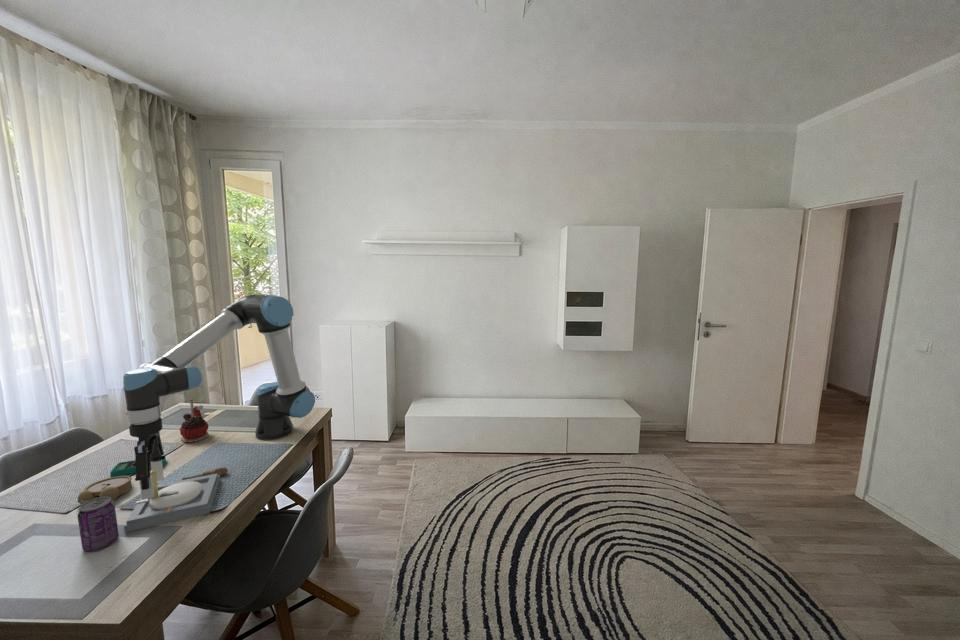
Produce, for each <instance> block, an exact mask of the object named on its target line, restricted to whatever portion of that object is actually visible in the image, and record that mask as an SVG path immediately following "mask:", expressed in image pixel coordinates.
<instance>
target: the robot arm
mask: <svg viewBox="0 0 960 640" xmlns="http://www.w3.org/2000/svg"><path fill="white" fill-rule="evenodd" d="M293 317H294V308H293V306H292V304H291V301H289V300H288V299H286V298H285V297H283V296H281V295H280V296H278V295H275V294H273V295H270V294H269V295H268V294H248V295H246V296H243V297H241V298H239V299H238V300H236V301H234V302H233V303H231V304H229V305H228V306H227V307H225V308H224V309H222V310H221V311H220V314H219V315H218V316H216V318H214V319H213V320H211V321H210V322H209V323H207V324H206V325H204V326H203V327H201V328H200V329H198V330H197V331H195V332H194V333H192V335H190V336H189V337H187V338H186V339H184V340H183V341H182V342H180V343H179V344H177V345H175V346H174V347H173V348H171V349H170V350H168V351H167V352H166V353H164V354H163V355H162V356H159V358H157V359H156V360H154V361H152V362H145V363H143V364H142V363H141V364H140V365H138V367H137V368H136V369H132V370H129V371H127V372H125V373H124V374H123V383H122V384H123V386H122V387H123V390H124V396H125V403H126V411H125V412H124V414H125V415H127V420H128V423H129V424H128V430H129V431H128V432H129V435H130V437H133V438H138V440H137V442H136V446H134V449H133V450H134V456H135V458H134V460H135V463H136V473H135V478H134V481H136V482H139V486H140V488H139V489H140V495H141V497H142V499H147V498H151V497H154V490H153V481H152V476H150V470H151V471H152V470H156V478H157V482H160V481H164V480H165V477H164V476H165V475H164V468H163V467H164V466H163V465H162V460H161V459H165V457H166V455H164V454H165V453H164V448H163V444H162V440H161V435H160V434H161V433H160V432H161V431H162V430H163V420H162V418H161V417H162V410H161V403H160V401H161V400H160V399H161V397H166V396H169V395H173V394H177V393H180V392H184V391H190V390H192V389H195V388H198V387H199V386H200V385H201V384H202V382H203V375H202V371H201V370H200V369H199V368H198V367H197V366H196V365H190V364H192V363H193V362H194V361H196V360H197V359H198V358H200V357H201V356H202V355H204V354H205V353H207V351H210V349H212V348H213V347H214V346H215V345H217V344H218V343H219V342H221V341H222V340H224V339H225V338H226V337H228V336H229V335H230V334H232V333H233V332H234V331H235V330H241V329H243V328H245V326H247V325H251V324H256V328H257V331H258V333H259V334H262V335H263V336H264V339H265V342H266V346H267V349H268V353H269V356H270V357H269V358H270V361H271V364H272V368H273V370H274V375H275V377H276V381H274V382H268V383H265V384H261V385H259V386H258V387H257V389H256V390H257V391H256V399H257V400H256V402H257V413H258V421H257V425H256V428H255V431H254V434H255V438H256V439H257V440H261V441H272V440H277V439H282V438H285V437H288V436H289V435H291V434H292V433H293V432H292V431H294V424H293V422H292V420H291V419H292V418H294V419H295V418H297V419H301V418H304V417H306V416H308V415H309V414H310V413H311V411H312V410H313V409H314V407H315V403H316V396H315V394H314V393H313V392H312V391H310V390H308V388H307V384H306V382H305V381H304V380H301V376H300V373H299V368H298V364H297V362H296V357H295V354H294V350H293V347H292V342H291V338H290V335H289V328H290V327H291V322H292V320H293ZM290 417H291V418H290ZM291 432H292V433H291ZM288 434H289V435H288ZM284 436H285V437H284ZM151 460H152V461H154V462H151ZM141 497H140V498H141Z"/></svg>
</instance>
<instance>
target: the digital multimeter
mask: <svg viewBox="0 0 960 640" xmlns="http://www.w3.org/2000/svg"><path fill="white" fill-rule="evenodd" d="M161 460H162V465H163V467H164V466H165V465H166V463H167V460H166V456H165V459H161ZM151 462H154V461H152V460H151ZM150 471H151V470H150ZM133 474H136V463H135V459H134V460H129V461H122V462H118V463H117V464H116V465H115V466H114V467H113V468H112V469H111V471H110V478H111V477H117V476H129V475H133Z"/></svg>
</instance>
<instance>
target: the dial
mask: <svg viewBox="0 0 960 640" xmlns="http://www.w3.org/2000/svg"><path fill="white" fill-rule="evenodd" d="M150 476H152V481H153V490H154V497H151V498H150V507H151V508H152V509H155V510H165V509H168V507H171V506H172V508H174V507H179V506H183V505H185V504H187V503H189V502H191V501H193V500H194V499H196V498H197V497H198V496H199V495H200V494H201V493H202V485H201V484H200V483H199V482H194V481H188V482H181V483H177V484H173V485H170V486H168V487H165V488H163V489H161V490H159V491H158V486H157V485H158V481H157V478H156V470H152V471H150Z"/></svg>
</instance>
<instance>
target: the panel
mask: <svg viewBox="0 0 960 640" xmlns="http://www.w3.org/2000/svg"><path fill="white" fill-rule="evenodd" d="M188 481H194V482H199V483H200V484H201V485H202V493H201V494H200V495H199V496H198V497H197V498H196V499H194V500H193V501H191V502H189V503H187V504H185V505H183V506H179V507H174V508H172V506H171V507H168V509H165V510H155V509H152V508H151V507H150V498H147V499H142V497H140V499H139V500H136V502H135V504H136V505H135V507H134V509H133V510H132V512H130V515H129V517H128V518H127V520H126V522H125V524H124V525H123V531H124V533H129V532H133V531H137V530H142V529H146V528H150V527H151V528H152V527H154V526H155V527H156V526H158V525H163V524H164V525H165V524H168V523H173V522H176V521H177V522H178V521H181V520H185V519H190V518H194V517H199V516H203V515H207V514H210V513H211V510H212V507H213V505H214V500H215V498H216V494H217V492H216V491H218V489H217V488H219V486H220V485H219V484H220V482H221V476H220V475H218V473H217V474H212V475H207V476H201V477H196V478H191V479H186V480H182V479H181V480H177V481H176V480H175V481H171V482H166V483H160V484H157V486H158V491H159V490H161V489H163V488H165V487H168V486H170V485H173V484H177V483H181V482H188Z"/></svg>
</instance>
